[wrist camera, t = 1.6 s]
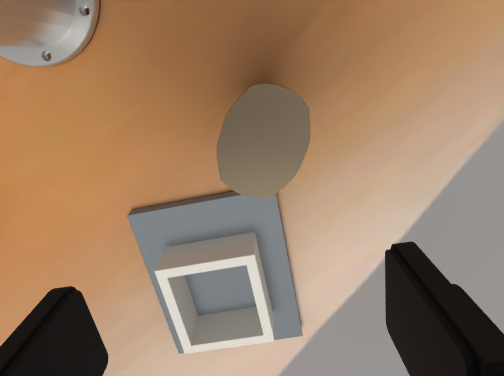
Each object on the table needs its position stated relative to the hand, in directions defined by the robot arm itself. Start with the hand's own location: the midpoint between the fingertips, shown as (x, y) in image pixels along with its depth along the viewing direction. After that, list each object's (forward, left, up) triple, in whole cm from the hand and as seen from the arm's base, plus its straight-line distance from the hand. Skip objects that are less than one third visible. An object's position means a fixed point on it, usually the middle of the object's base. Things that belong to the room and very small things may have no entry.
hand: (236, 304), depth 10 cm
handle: (-2, +2, -25) cm, 25 cm away
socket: (+16, -7, -25) cm, 30 cm away
